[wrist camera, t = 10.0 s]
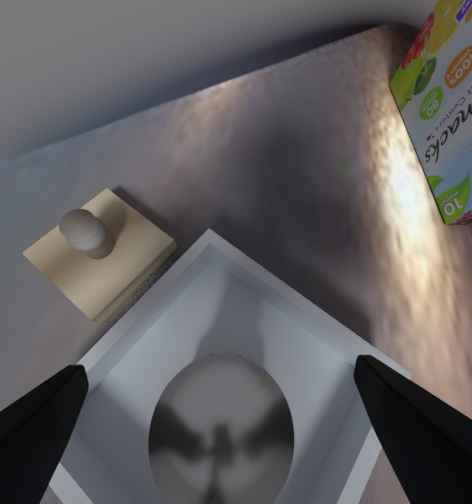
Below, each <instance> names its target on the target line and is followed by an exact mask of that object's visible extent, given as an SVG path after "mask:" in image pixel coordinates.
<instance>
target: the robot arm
mask: <svg viewBox="0 0 472 504" xmlns="http://www.w3.org/2000/svg"><path fill="white" fill-rule="evenodd" d="M353 377H354V381H355V384H356V387H357V389H358V392H359V394H360V397H361V399H362V402H363V404H364V407H365V409H366V412H367V415H368V417H369V420H370V422H371V425H372V427H373V429H374V431H375V434H376V436H377V438H378V440H379V442H380V444H381V446H382V448H383V450H384V452H385V454H386V456H387V458H388V460H389V462H390V464H391V466H392V468H393V470H394V472H395V474H396V476H397V478H398V480H399V482H400V484H401V486H402V488H403V490H404V492H405V494H406V496H407V498H408V500H409V502H410V504H472V419H470V418H468V417H467V416H465V415H464V414H462V413H461V412H459V411H458V410H456V409H454V408H453V407H451V406H450V405H448V404H447V403H445V402H444V401H442V400H440V399H439V398H437V397H436V396H434V395H433V394H431V393H430V392H428V391H426V390H425V389H423V388H422V387H420V386H419V385H417V384H416V383H414V382H412V381H411V380H409V379H408V378H406V377H405V376H403V375H402V374H400V373H398V372H397V371H395V370H394V369H392V368H391V367H389V366H388V365H386V364H385V363H383V362H381V361H380V360H378V359H377V358H375V357H374V356H372V355H358V356H357V359H356V363H355V368H354V373H353ZM88 389H89V382H88V378H87V374H86V370H85V367H84V366H83V365H81V364H76V365H68V366H67V367H65V368H64V369H62V370H61V371H59V372H58V373H56V374H55V375H53V376H52V377H50V378H49V379H47V380H46V381H44V382H43V383H42V384H40V385H39V386H37V387H36V388H34V389H33V390H31V391H30V392H28V393H27V394H25V395H24V396H22V397H21V398H19V399H18V400H17V401H15V402H14V403H12V404H11V405H9V406H8V407H6V408H5V409H3V410H2V411H0V504H39V503H40V501H41V499H42V497H43V495H44V493H45V491H46V489H47V487H48V485H49V482H50V480H51V478H52V476H53V474H54V472H55V470H56V468H57V466H58V464H59V462H60V460H61V458H62V456H63V454H64V451H65V449H66V447H67V445H68V442H69V440H70V438H71V435H72V432H73V430H74V427H75V425H76V422H77V419H78V417H79V414H80V411H81V409H82V406H83V403H84V401H85V398H86V395H87V393H88Z"/></svg>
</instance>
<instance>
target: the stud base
mask: <svg viewBox="0 0 472 504" xmlns="http://www.w3.org/2000/svg"><path fill="white" fill-rule="evenodd" d="M176 249H177V246H176V243H175V240H174V239H173V238H171V237H170V236H169V235H167V234H166V233H165V232H163V231H162V230H161V229H159V228H158V227H157V226H156V225H154V224H153V223H152V222H150V221H149V220H148V219H146V218H145V217H144V216H143V215H141V214H140V213H139V212H137V211H136V210H135V209H133V208H132V207H131V206H129V205H128V204H127V203H126V202H124V201H123V200H122V199H120V198H119V197H118V196H116V195H115V194H114V193H112V192H111V191H110V190H109V189H107V188H106V189H105V190H104V191H102V192H101V193H100V194H99V195H97V196H96V197H95V198H93V199H92V200H91V201H89V202H88V203H87V204H85V205H84V206H83V207H82V208H80V209H76V210H73V211H70V212H68V213H67V214H66V215H64V216H63V218H62V219H61V221H60V223H59V225H58V226H57V227H56V228H54V229H53V230H52V231H50V232H49V233H48V234H46V235H45V236H44V237H42V238H41V239H40V240H39V241H37V242H36V243H35V244H33V245H32V246H31V247H29V248H28V249H27V250H26V251H24V252H23V253H22V254H23V255H24V256H25V257H27V258H28V259H29V260H30V261H31V262H32V263H33V264H34V265H35V266H36V267H37V268H38V269H39V270H40V271H41V272H42V273H43V274H44V275H45V276H46V277H47V278H48V279H49V280H50V281H51V282H52V283H53V284H54V285H55V286H56V287H57V288H58V289H59V290H61V291H62V292H63V293H64V294H65V295H66V296H67V297H68V298H69V299H70V300H71V301H72V302H73V303H74V304H75V305H76V306H77V307H78V308H79V309H80V310H81V311H82V312H83V313H84V314H85V315H86V316H87V317H88V318H89V319H90V320H91V321H94V322H97V323H99V324H102V323H103V322H104V321H105V320H106V319H107V318H108V317H109V316H110V315H111V314H112V313H113V312H114V311H115V310H116V309H117V308H118V307H119V306H120V305H121V304H122V303H123V302H124V301H125V300H126V299H127V298H128V297H129V296H130V295H131V294H132V293H133V292H134V291H135V290H136V289H137V288H138V287H139V286H140V285H141V284H142V283H143V282H144V281H145V280H146V279H147V278H148V277H149V276H150V275H151V274H152V273H153V272H154V271H155V270H156V269H157V268H158V267H159V266H160V265H161V264H162V263H163V262H164V261H165V260H166V259H167V258H168V257H169V256H170V255H171V254H172V253H173V252H174V251H175V250H176Z"/></svg>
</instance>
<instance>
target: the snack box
mask: <svg viewBox="0 0 472 504" xmlns="http://www.w3.org/2000/svg"><path fill="white" fill-rule="evenodd" d="M389 87H390V89H391V92H392V94H393V96H394V98H395V101H396V103H397V105H398V108H399V110H400V113H401V115H402V118H403V120H404V123H405V125H406V127H407V130H408V132H409V135H410V137H411V140H412V142H413V145H414V147H415V149H416V152H417V154H418V157H419V159H420V162H421V164H422V167H423V169H424V171H425V174H426V176H427V179H428V181H429V184H430V186H431V189H432V191H433V194H434V196H435V199H436V201H437V203H438V206H439V209H440V211H441V214H442V216H443V219H444V221H445V223H446V225H450V224H456V225H472V0H438V2H437V4H436V5H435V7H434V9H433V10H432V12H431V14H430V15H429V17H428V19H427V20H426V22H425V24H424V25H423V27H422V29H421V31H420V32H419V34H418V36H417V38H416V39H415V41H414V43H413V44H412V46H411V48H410V50H409V51H408V53H407V55H406V56H405V58H404V60H403V62H402V63H401V65H400V67H399V68H398V70H397V72H396V73H395V75H394V77H393V78H392V80H391V82H390V84H389Z"/></svg>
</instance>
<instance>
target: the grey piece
mask: <svg viewBox="0 0 472 504" xmlns="http://www.w3.org/2000/svg"><path fill="white" fill-rule="evenodd" d="M148 454H149V462H150V467H151V471H152V475H153V478H154V481H155V484H156V486H157V489H158V490H159V492H160V494H161V496H162V498H163V499H164V501H165V502H166V503H167V504H273V503H274V502H275V500H276V499H277V497H278V496H279V494H280V493H281V491H282V489H283V487H284V485H285V483H286V481H287V478H288V475H289V472H290V469H291V465H292V460H293V454H294V426H293V420H292V415H291V411H290V408H289V405H288V402H287V400H286V398H285V396H284V394H283V392H282V390H281V388H280V387H279V385H278V384H277V382H276V381H275V380H274V379H273V377H272V376H271V375H270V374H269V373H268V372H267V371H266V370H265V369H263V368H262V367H261V366H259V365H258V364H256V363H255V362H253V361H251V360H249V359H247V358H245V357H241V355H232V354H210V356H206V357H203V358H200V359H198V360H196V361H194V362H192V363H190V364H189V365H187V366H186V367H184V368H183V369H182V370H181V371H180V372H178V373H177V374H176V375H175V376H174V377H173V379H172V380H171V381H170V382H169V383H168V385H167V386H166V387H165V389H164V391H163V392H162V394H161V396H160V398H159V400H158V402H157V404H156V407H155V409H154V412H153V415H152V419H151V424H150V429H149V438H148Z"/></svg>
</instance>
